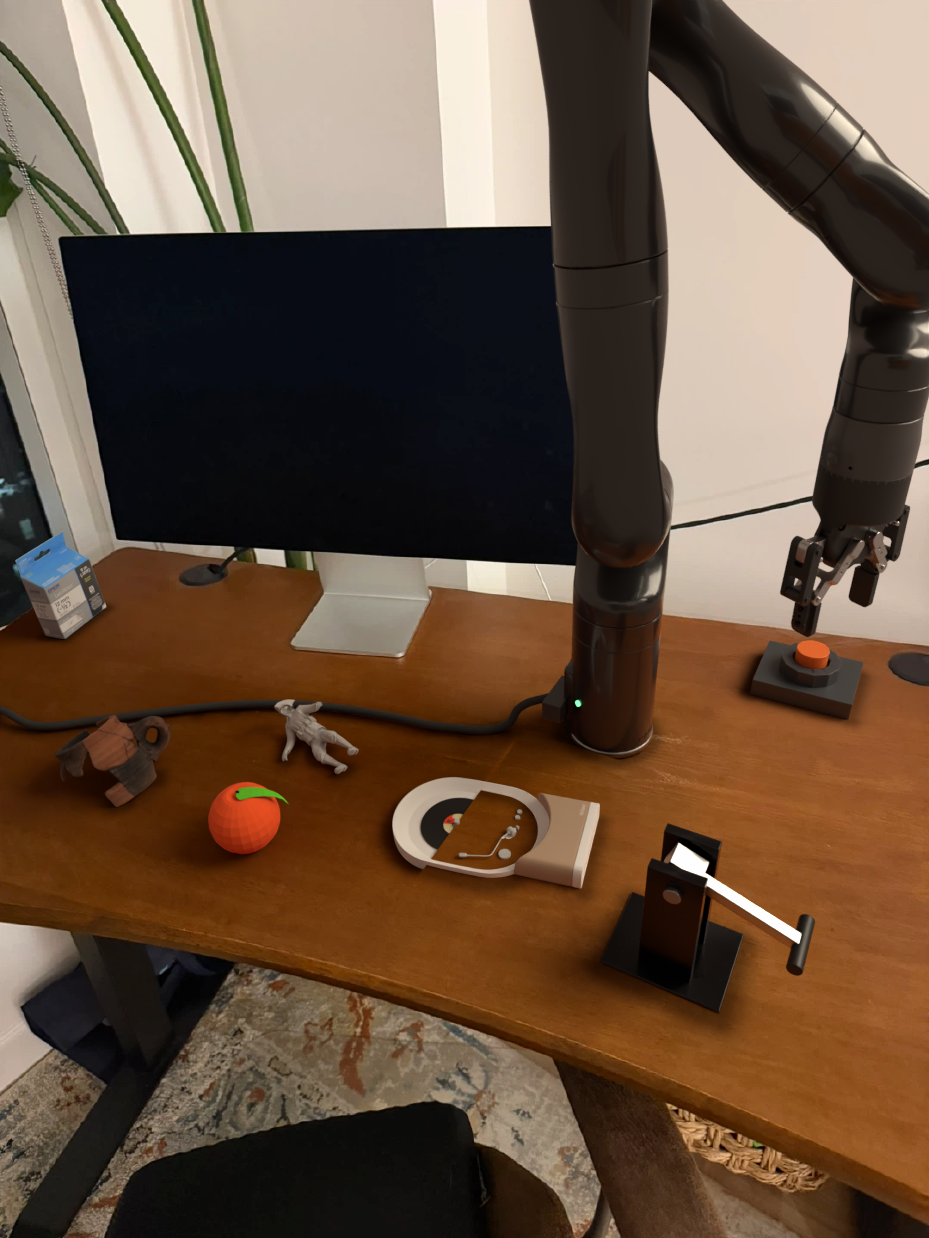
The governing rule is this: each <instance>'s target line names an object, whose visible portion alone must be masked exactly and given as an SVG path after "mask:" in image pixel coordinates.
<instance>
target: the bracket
mask: <svg viewBox="0 0 929 1238" xmlns="http://www.w3.org/2000/svg"><path fill="white" fill-rule="evenodd" d="M677 843H680V844H682V845H683V846H685V847H687V848H688V849H690V850H691V851H693V852H694V853H696V854H698V855H699V856H701V857H702V858H704V859H706V860H707V861H709V865H708V868H707V870H706V873H707V874H708V875H710V876H711V877H713V878H715V879H716V880H717V876H718V870H719V864H720V857H721V852H722V847H723V846H722V845H723V841H722V840H720V839H716V838H713V837H710V836H709V835H708V836H707V835H705V834H701V833H698V832H695V831H693V830H689V829H686V828H685V827H681V826H678V825H675V824H672V823H667V824H666V825H665V827H664V830H663V837H662V847H661V854H660V855H661V856H660V860H659V859H656V858H654V857H651V858H650V860H649V861H648V864H647V868H646V877H645V887H644V895H642V894H639V893H637V892H634V891H631V894H630V896H629V898H628V900H627V902H626V904H625V907H624V908H623V911H622V913H621V915H620V917H619V919H618V921H617V924H616V926H615V928H614V930H613V933H612V934H611V937H610V939H609V941H608V943H607V945H606V947H605V950H604V952H603V954H602V956H601V959H600V961H599V963H600V964H602V965H604V966H607V967H608V968H611V969H614V970H616V971H618V972H621V973H623V974H626V975H628V976H629V977H633V978H635V979H637V980H639V981H642V982H644V983H646V984H649V985H651V986H654V987H656V988H659V989H661V990H663V991H665V992H668V993H669V994H672V995H675V996H677V997H679V998H682V999H684V1000H686V1001H689V1002H691V1003H694V1004H696V1005H698V1006H701V1007H703V1008H705V1009H708V1010H710V1011H711V1012H712V1011H713V1012H715V1013H717V1014H720V1012H721V1008H722V1006H723V1003H724V1000H725V996H726V994H727V990H728V988H729V984H730V981H731V978H732V975H733V971H734V968H735V965H736V962H737V958H738V956H739V952H740V950H741V946H742V943H743V940H744V937H745V934H744V933H742V932H739V931H736V930H734V929H731V928H728V927H726V926H724V925H720V924H717V923H715V922H713V921H710V917H711V912H712V906H713V901H714V899H712V898H711V897H709V896H707V895H706V890H707V884H708V878H706V877H704V876H701V875H698V874H695V873H692V872H690V871H687V870H684V869H681V868H679V867H676V866H673V865H670V864H667V863H665V862H664V860H665V858H666V857H667V855H668V854H669V853H670V852H671V850H672V849H673V848H674V847H675V845H676V844H677Z"/></svg>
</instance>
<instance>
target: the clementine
mask: <svg viewBox="0 0 929 1238" xmlns="http://www.w3.org/2000/svg"><path fill="white" fill-rule="evenodd" d="M277 799H280V800H282V801H283V802H285V803H286V804H287V805H288V806H289V805H290V803H289V802H288V801H287V800H286V799H285V798H284V796H282V795H280V794H279V793H278V792H276V791H274V790H271V789H268V788H267V787H265V786H263V785H261V784H259V783H255V782H252V781H251V782H250V781H242V782H236V783H233V784H231V785H228V786H227V787H226V788H224V789H223V790H222V791H220V792H219V793H218V794H217V796H216V797H215V799H214V800H213V801H212V802H211V805H210V808H209V812H208V816H207V817H208V818H207V819H208V830H209V832H210V834H211V836H212V838H213V840H214V842H215V843H216V844H218V845H219V846H220V847H221V848H222V849H223V850H225V851H227V852H229V853H233V854H239V855H248V854H252V853H257V851H260V850H262V849H263V848H265V847H266V846H267V845H268V844H269V843H270V842H271V841H272V840H273V839H274V838H275V836H276V834H277V833H278V831H279V827H280V823H281V809H280V805H279V802H278V800H277Z"/></svg>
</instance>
